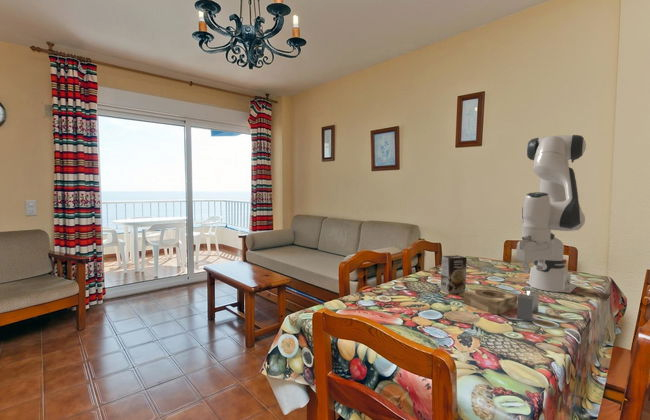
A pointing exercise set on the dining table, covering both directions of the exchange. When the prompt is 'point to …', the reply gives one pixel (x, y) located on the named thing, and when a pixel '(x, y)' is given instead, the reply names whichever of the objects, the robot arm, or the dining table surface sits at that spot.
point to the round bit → (536, 299)
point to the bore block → (490, 300)
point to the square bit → (525, 307)
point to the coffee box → (453, 274)
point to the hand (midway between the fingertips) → (533, 271)
